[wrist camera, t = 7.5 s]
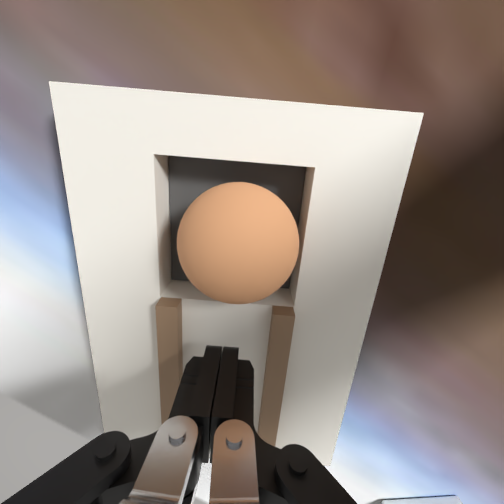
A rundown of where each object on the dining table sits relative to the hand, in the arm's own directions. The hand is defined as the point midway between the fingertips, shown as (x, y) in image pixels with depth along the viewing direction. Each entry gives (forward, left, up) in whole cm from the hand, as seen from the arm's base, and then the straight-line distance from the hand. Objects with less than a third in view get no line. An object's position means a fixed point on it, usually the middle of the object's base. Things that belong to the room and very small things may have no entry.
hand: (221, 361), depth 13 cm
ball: (-6, 0, -1) cm, 6 cm away
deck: (-1, 0, -4) cm, 4 cm away
